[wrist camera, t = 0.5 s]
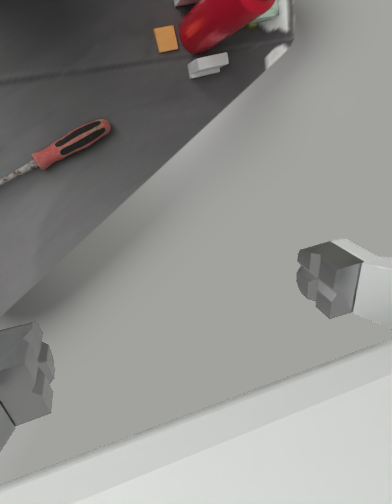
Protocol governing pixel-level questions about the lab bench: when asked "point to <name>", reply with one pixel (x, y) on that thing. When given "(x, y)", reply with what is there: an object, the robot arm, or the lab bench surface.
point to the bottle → (218, 21)
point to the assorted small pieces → (208, 63)
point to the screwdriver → (64, 147)
